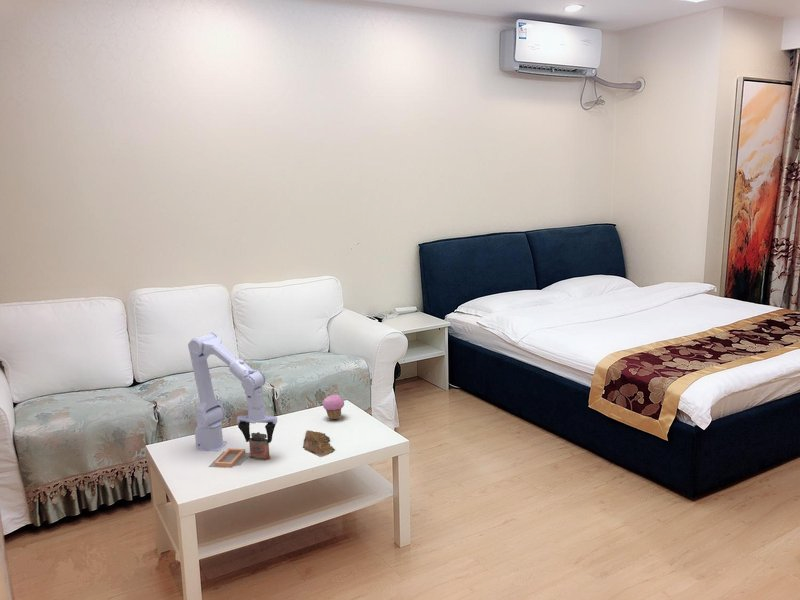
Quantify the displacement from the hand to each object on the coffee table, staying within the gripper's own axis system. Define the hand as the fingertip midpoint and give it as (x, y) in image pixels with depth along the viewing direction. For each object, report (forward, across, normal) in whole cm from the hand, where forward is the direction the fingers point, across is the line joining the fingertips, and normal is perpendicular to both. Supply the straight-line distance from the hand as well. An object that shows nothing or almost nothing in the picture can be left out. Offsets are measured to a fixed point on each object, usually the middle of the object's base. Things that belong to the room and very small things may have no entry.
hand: (259, 441), depth 220 cm
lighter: (+7, 0, 0) cm, 7 cm away
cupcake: (+7, +17, +39) cm, 43 cm away
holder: (+7, -10, -3) cm, 13 cm away
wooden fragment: (+8, +20, +17) cm, 28 cm away
